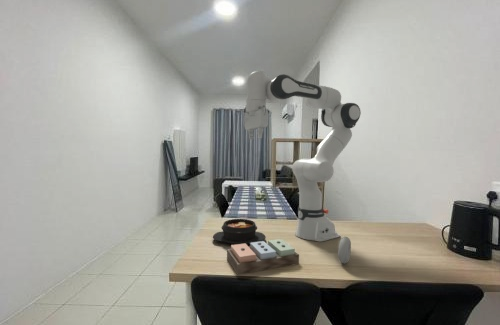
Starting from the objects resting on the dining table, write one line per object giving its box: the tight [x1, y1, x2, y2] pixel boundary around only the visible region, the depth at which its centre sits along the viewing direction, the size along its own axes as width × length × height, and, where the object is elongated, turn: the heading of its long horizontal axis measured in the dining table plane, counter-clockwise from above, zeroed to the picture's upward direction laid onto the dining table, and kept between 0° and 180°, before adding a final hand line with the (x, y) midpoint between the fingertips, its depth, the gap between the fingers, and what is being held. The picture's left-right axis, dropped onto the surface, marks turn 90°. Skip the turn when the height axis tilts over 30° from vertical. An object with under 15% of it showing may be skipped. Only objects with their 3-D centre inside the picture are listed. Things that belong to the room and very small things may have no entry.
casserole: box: [212, 218, 266, 245], centre depth 114 cm, size 25×19×8 cm
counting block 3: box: [267, 238, 296, 257], centre depth 96 cm, size 6×11×4 cm, turn 21°
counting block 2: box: [249, 240, 276, 260], centre depth 93 cm, size 6×11×4 cm, turn 21°
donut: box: [337, 236, 352, 265], centre depth 93 cm, size 10×3×10 cm, turn 148°
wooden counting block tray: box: [226, 245, 300, 275], centre depth 93 cm, size 24×13×4 cm, turn 111°
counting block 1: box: [230, 243, 256, 263], centre depth 90 cm, size 6×11×4 cm, turn 21°
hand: (255, 138), depth 109 cm, fingers open, 8 cm apart
